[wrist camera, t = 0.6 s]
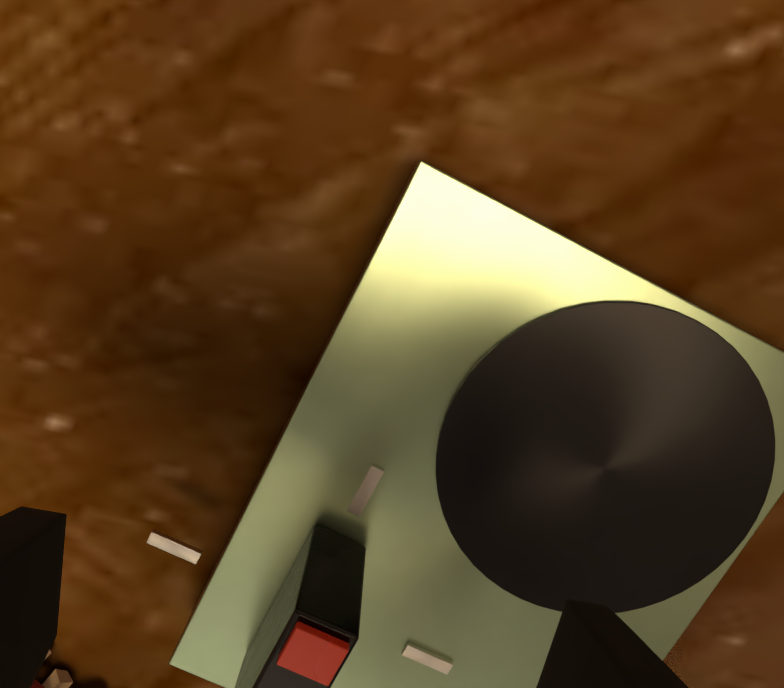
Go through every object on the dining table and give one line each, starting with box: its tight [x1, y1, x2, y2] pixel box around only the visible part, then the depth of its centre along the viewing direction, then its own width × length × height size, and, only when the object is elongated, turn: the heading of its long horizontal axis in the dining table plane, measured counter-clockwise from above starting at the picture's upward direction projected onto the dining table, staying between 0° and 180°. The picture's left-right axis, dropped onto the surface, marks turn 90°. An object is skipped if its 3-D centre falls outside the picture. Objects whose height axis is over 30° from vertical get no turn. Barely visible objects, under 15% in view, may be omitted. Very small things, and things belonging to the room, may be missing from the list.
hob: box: [147, 160, 784, 688], centre depth 19 cm, size 16×14×3 cm
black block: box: [235, 525, 366, 688], centre depth 16 cm, size 5×2×4 cm, turn 153°
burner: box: [435, 301, 775, 613], centre depth 17 cm, size 8×8×1 cm
